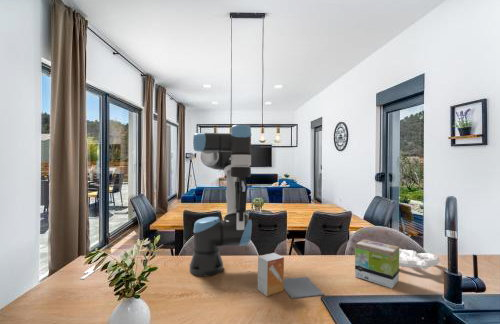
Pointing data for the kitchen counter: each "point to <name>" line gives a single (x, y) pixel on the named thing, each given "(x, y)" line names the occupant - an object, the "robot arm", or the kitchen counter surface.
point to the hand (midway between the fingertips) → (240, 229)
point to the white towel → (417, 259)
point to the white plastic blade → (89, 272)
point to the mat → (301, 287)
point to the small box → (270, 273)
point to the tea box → (377, 262)
